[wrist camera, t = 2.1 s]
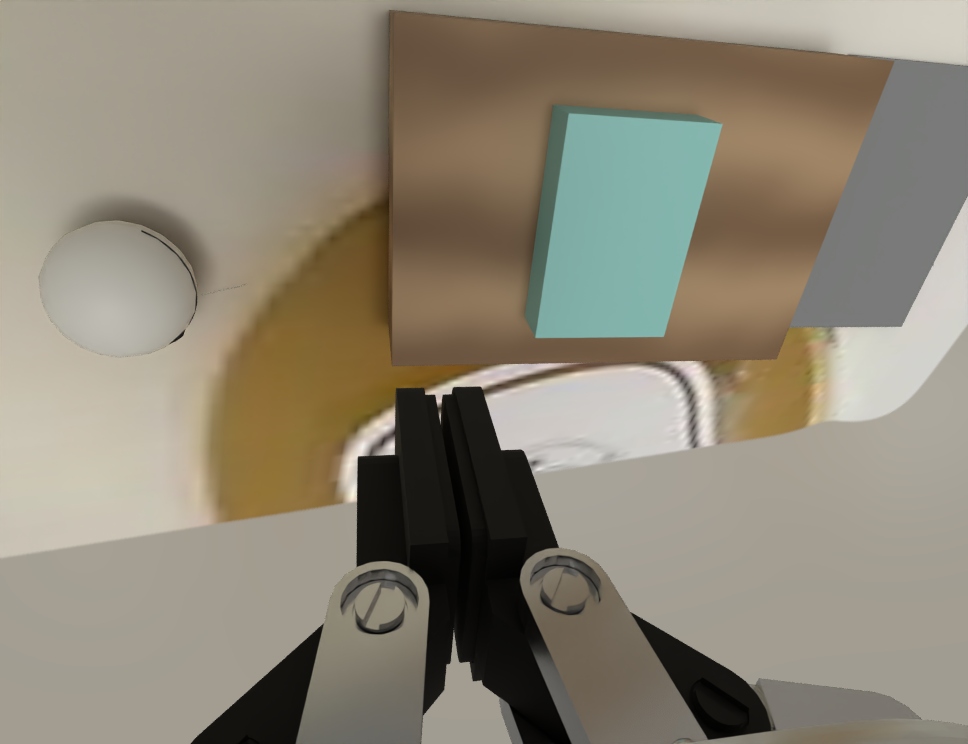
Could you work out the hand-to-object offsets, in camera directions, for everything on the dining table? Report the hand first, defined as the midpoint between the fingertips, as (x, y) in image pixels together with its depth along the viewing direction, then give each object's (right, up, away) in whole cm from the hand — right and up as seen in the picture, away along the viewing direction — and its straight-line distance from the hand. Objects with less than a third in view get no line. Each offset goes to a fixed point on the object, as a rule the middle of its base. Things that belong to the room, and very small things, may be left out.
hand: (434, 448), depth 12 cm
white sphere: (-14, +6, +16) cm, 22 cm away
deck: (+6, +10, +17) cm, 21 cm away
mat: (+22, +10, +20) cm, 32 cm away
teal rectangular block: (+6, +8, +14) cm, 17 cm away
